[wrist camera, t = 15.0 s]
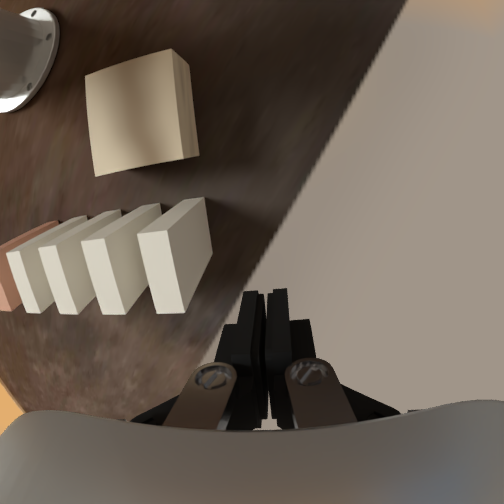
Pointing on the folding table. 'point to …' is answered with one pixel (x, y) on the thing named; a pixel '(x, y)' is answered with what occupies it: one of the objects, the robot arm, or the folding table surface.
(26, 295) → the domino
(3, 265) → the domino
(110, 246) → the domino
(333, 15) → the folding table surface
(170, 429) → the robot arm
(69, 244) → the domino
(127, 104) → the stand
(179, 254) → the domino
